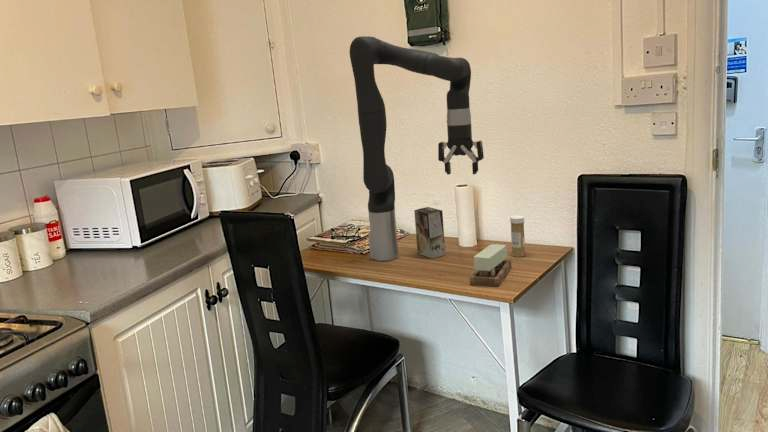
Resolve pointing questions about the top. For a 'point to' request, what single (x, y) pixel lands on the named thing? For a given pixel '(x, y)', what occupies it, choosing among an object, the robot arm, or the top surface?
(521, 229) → the sprinkles bottle
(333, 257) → the top surface
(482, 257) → the pale green block
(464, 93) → the robot arm
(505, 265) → the peg frame
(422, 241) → the coffee box
